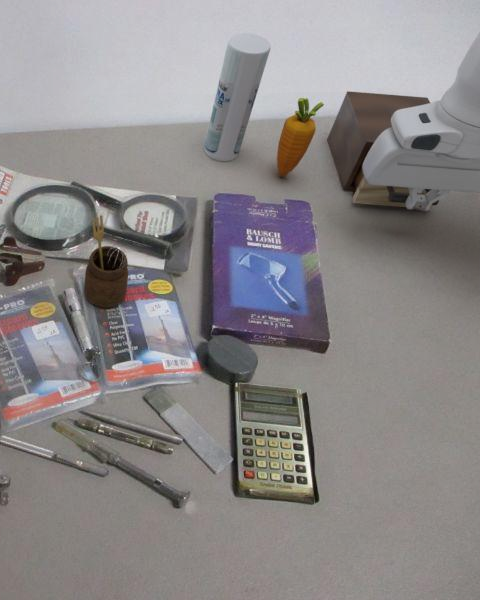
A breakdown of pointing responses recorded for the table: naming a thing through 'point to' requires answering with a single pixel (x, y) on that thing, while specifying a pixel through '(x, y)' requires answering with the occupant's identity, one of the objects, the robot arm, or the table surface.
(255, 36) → the spray can
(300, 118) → the carrot
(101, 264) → the utensil holder
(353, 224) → the table surface
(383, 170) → the robot arm
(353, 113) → the cabinet
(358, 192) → the drawer
